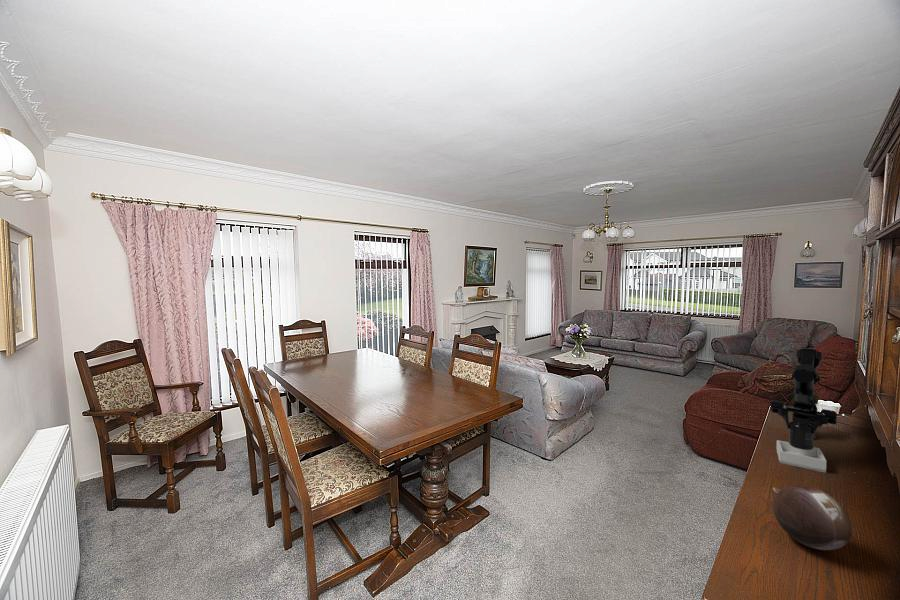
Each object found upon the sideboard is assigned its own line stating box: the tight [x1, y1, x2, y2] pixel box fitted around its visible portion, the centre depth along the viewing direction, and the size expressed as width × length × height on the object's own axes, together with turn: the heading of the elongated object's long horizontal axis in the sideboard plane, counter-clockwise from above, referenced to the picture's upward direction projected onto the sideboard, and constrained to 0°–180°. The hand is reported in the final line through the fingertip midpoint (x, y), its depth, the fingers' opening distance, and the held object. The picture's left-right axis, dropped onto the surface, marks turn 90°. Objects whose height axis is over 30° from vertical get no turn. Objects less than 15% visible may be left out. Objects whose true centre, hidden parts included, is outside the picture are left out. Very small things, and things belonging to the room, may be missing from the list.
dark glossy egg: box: [772, 484, 853, 551], centre depth 97 cm, size 15×15×15 cm
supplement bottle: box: [788, 414, 814, 450], centre depth 141 cm, size 7×7×12 cm
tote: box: [776, 440, 827, 474], centre depth 141 cm, size 13×13×4 cm
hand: (800, 430), depth 140 cm, fingers closed on supplement bottle, 7 cm apart
